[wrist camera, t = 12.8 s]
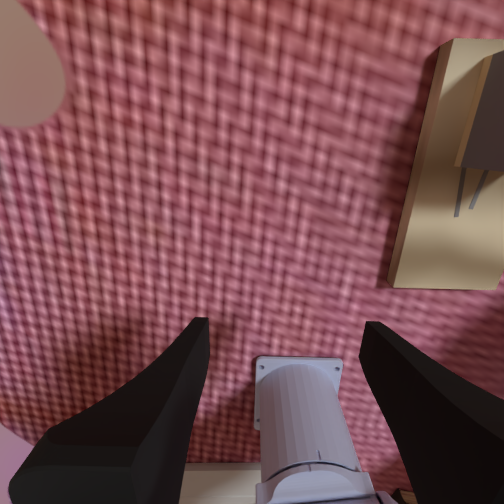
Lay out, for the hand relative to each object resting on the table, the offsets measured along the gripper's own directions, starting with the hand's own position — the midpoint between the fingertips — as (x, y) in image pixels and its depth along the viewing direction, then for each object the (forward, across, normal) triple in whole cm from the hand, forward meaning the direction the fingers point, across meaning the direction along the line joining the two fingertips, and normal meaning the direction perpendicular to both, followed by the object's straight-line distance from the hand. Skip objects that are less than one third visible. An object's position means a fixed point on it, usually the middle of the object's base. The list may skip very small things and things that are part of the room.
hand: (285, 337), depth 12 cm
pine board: (+10, -14, -6) cm, 18 cm away
